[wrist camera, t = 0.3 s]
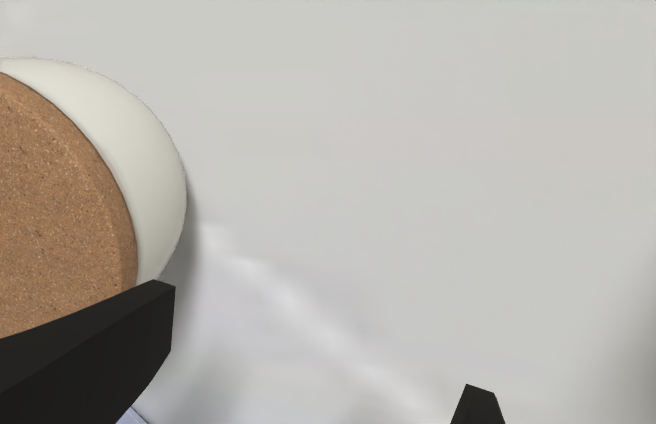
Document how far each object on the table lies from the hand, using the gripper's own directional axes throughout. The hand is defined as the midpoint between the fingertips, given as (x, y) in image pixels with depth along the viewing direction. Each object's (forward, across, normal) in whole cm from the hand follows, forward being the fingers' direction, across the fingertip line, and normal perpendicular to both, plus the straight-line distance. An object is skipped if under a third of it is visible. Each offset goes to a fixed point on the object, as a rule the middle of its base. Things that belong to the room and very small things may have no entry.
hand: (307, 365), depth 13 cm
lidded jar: (+10, +12, +2) cm, 16 cm away
